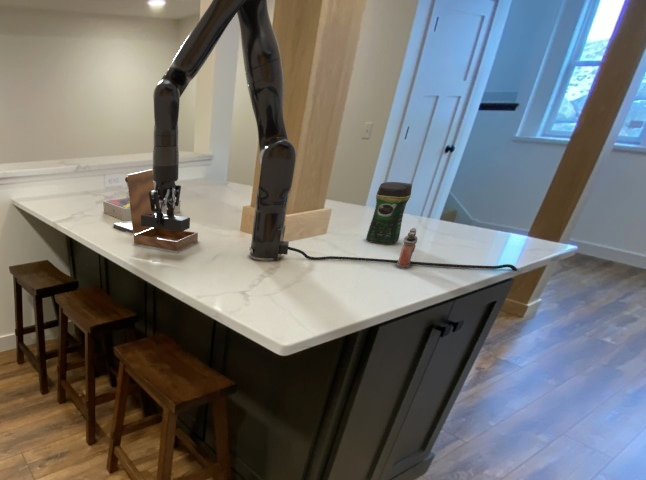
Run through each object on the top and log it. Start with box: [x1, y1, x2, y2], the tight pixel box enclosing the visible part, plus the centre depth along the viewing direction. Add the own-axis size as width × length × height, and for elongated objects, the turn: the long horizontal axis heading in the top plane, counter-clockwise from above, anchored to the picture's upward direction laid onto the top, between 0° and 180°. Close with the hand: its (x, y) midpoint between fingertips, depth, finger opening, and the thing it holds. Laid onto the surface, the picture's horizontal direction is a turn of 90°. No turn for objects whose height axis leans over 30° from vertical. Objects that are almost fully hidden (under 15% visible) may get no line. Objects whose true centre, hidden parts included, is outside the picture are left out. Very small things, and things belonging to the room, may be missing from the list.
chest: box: [133, 227, 199, 252], centre depth 158 cm, size 18×14×4 cm
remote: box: [141, 212, 191, 232], centre depth 138 cm, size 15×5×4 cm, turn 52°
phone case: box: [113, 220, 151, 234], centre depth 178 cm, size 9×2×16 cm
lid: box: [124, 168, 156, 235], centre depth 158 cm, size 19×14×5 cm
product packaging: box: [102, 196, 181, 222], centre depth 203 cm, size 22×28×5 cm
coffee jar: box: [365, 181, 413, 245], centre depth 146 cm, size 10×8×19 cm
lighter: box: [396, 227, 419, 270], centre depth 128 cm, size 8×3×10 cm, turn 148°
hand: (165, 223), depth 138 cm, fingers closed on remote, 5 cm apart
